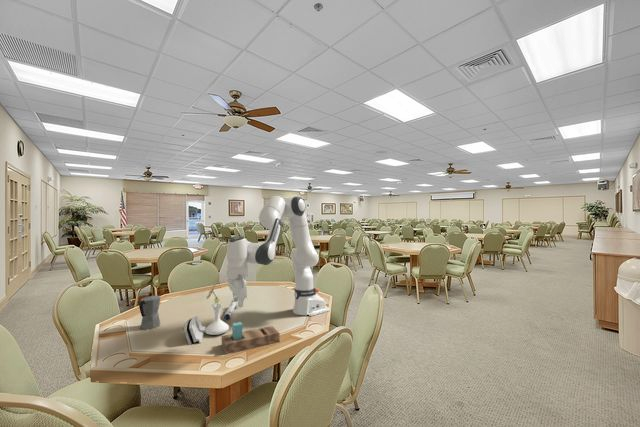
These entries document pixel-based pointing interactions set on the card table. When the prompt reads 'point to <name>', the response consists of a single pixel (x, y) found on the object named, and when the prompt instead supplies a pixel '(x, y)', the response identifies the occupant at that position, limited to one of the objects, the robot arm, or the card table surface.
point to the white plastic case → (194, 330)
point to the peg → (236, 331)
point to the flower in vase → (216, 318)
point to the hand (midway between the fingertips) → (238, 304)
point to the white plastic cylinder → (230, 310)
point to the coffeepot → (150, 312)
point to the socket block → (250, 339)
